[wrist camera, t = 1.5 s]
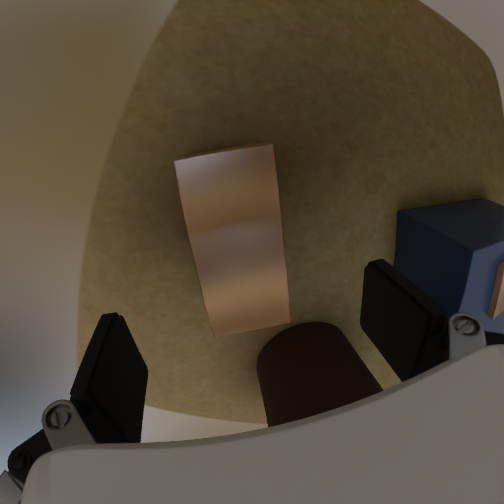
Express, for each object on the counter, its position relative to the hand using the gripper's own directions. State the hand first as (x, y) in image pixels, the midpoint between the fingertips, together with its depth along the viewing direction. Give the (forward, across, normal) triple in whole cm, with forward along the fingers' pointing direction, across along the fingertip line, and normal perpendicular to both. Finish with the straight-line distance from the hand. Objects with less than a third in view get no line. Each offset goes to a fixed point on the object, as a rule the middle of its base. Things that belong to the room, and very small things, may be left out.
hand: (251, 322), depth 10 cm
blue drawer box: (+11, -21, +8) cm, 25 cm away
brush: (+11, 0, 0) cm, 11 cm away
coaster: (+2, -21, +5) cm, 22 cm away
